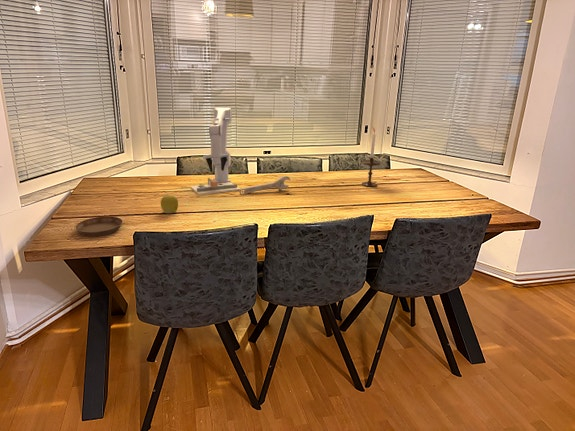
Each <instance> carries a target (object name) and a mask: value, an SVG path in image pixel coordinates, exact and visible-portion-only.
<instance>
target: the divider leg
mask: <svg viewBox="0 0 575 431" xmlns="http://www.w3.org/2000/svg"><path fill="white" fill-rule="evenodd" d="M207 184H208V185H210V186H211V187H212V188H213V187H218V182H217V181H216V180H214V179H212V178H210V177H207Z"/></svg>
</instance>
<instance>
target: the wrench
mask: <svg viewBox="0 0 575 431" xmlns="http://www.w3.org/2000/svg"><path fill="white" fill-rule="evenodd" d="M285 181H291V178H290V177H289V176H288V175H283V176H280V177H279V178H278V179H276V180H275V181H273V182H268V183H263V184H257V185H253V186H247V187H243V188H242V187H241V188H240V190H239V193H240V194H241V195H245V194H250V193H255V192H260V191H264V190H269V189H278V191H281V192H283V190H285V189H287V188H289V186H290V185H289V184H285ZM242 190H243V192H242Z"/></svg>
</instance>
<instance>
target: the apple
mask: <svg viewBox="0 0 575 431" xmlns="http://www.w3.org/2000/svg"><path fill="white" fill-rule="evenodd" d="M160 208H161V210H162V212H164V213H165V214H175V213H176V212H177V210H178V208H179V200H178V198H177V197H176V195H168V194H166V195H164V196H162V198H161V200H160Z"/></svg>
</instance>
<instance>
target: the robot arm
mask: <svg viewBox="0 0 575 431" xmlns="http://www.w3.org/2000/svg"><path fill="white" fill-rule="evenodd" d="M213 115H214V119H213V121H212V124H210V125H209V126H208V133H209V139H210V154H204V155H202V158H203V159H204V160H205V161H206V163H207V165H208V168H209V171H210V172H211V173H213V165H214V167H215V168H214V178H213V180H216V181H217V182H218V183H226V182H231V180H230V179H229V167H230V166H231V161H232V160H231V153H230V152H229V151H228V150H227V143H228V142H227V140H228V126H229V124H231V123H232V116H233V111H232V108H231V107H217V106H215V107H214V108H213Z"/></svg>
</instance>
